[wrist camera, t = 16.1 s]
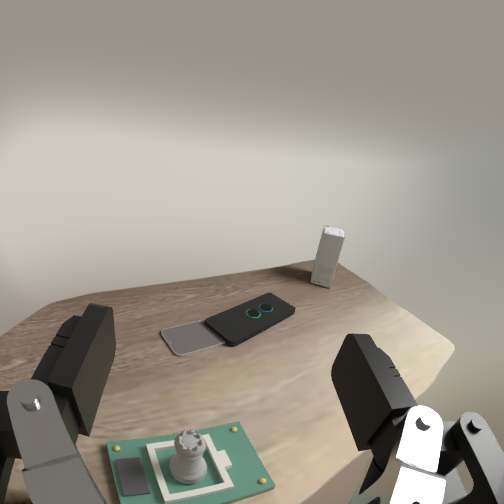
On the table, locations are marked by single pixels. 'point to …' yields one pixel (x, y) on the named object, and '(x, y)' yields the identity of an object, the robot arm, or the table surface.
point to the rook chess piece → (189, 458)
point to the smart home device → (249, 319)
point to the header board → (189, 495)
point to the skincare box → (327, 256)
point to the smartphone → (190, 338)
